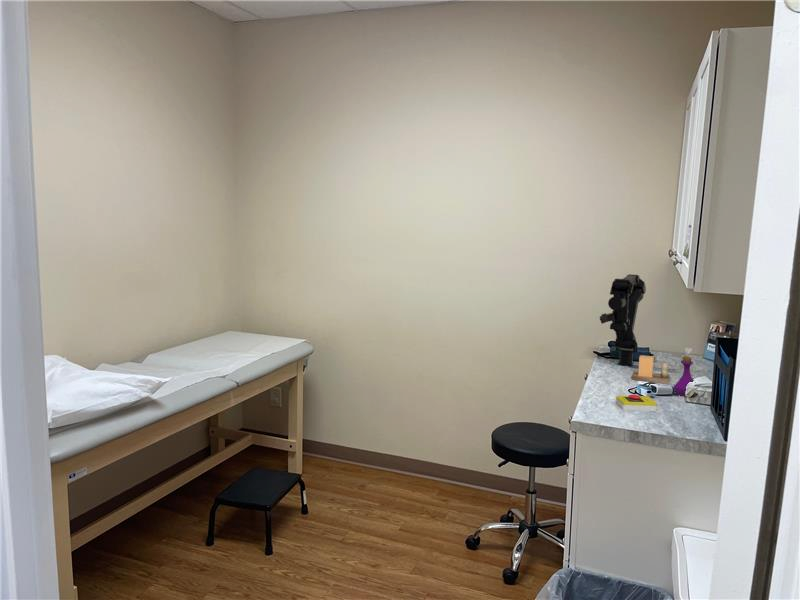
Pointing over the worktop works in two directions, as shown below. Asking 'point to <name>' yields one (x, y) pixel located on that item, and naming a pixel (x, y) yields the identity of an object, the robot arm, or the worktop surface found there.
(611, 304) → the robot arm
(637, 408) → the emergency button
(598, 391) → the worktop surface
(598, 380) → the worktop surface
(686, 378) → the perfume bottle
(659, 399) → the worktop surface
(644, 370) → the kraft paper carton
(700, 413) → the worktop surface
